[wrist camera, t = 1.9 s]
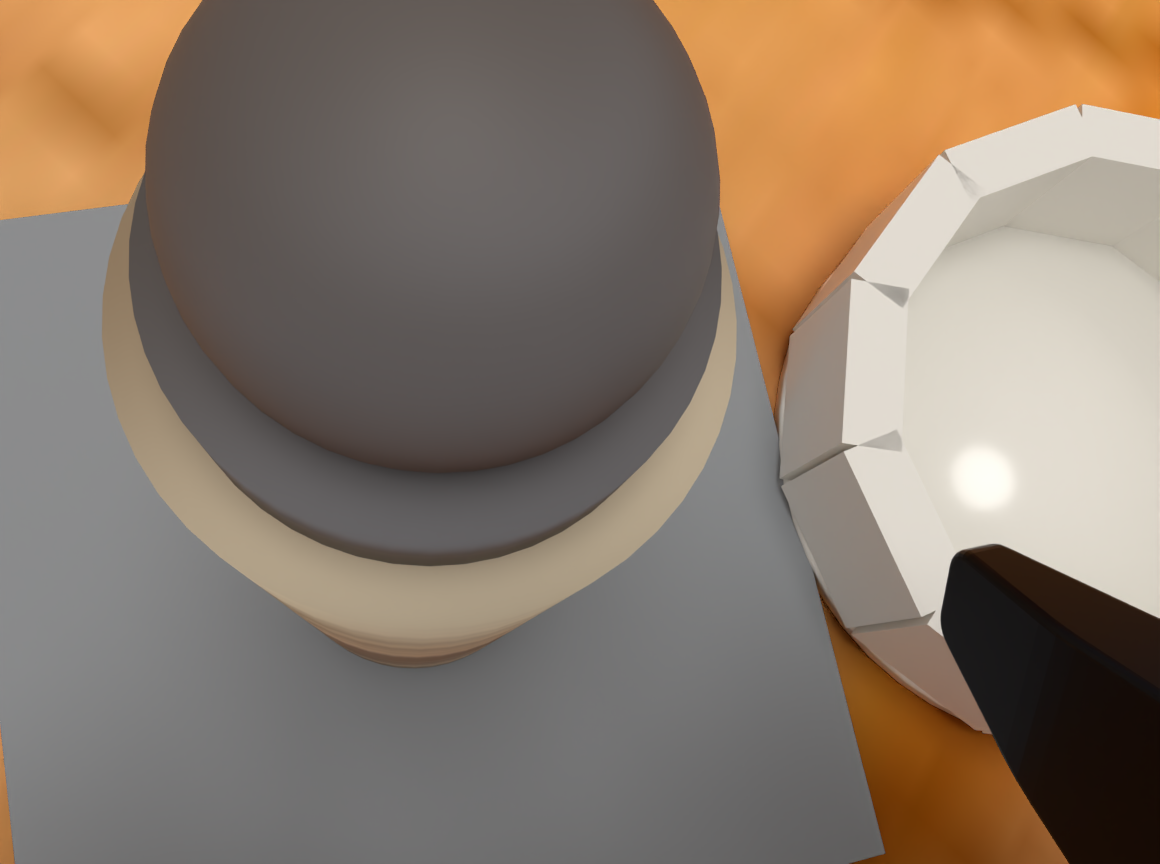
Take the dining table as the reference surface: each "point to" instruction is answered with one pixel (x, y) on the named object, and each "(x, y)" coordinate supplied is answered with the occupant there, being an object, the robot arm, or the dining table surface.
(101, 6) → the dining table surface
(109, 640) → the felt mat
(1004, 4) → the dining table surface
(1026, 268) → the bowl
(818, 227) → the dining table surface
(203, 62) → the pepper mill
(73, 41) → the dining table surface
